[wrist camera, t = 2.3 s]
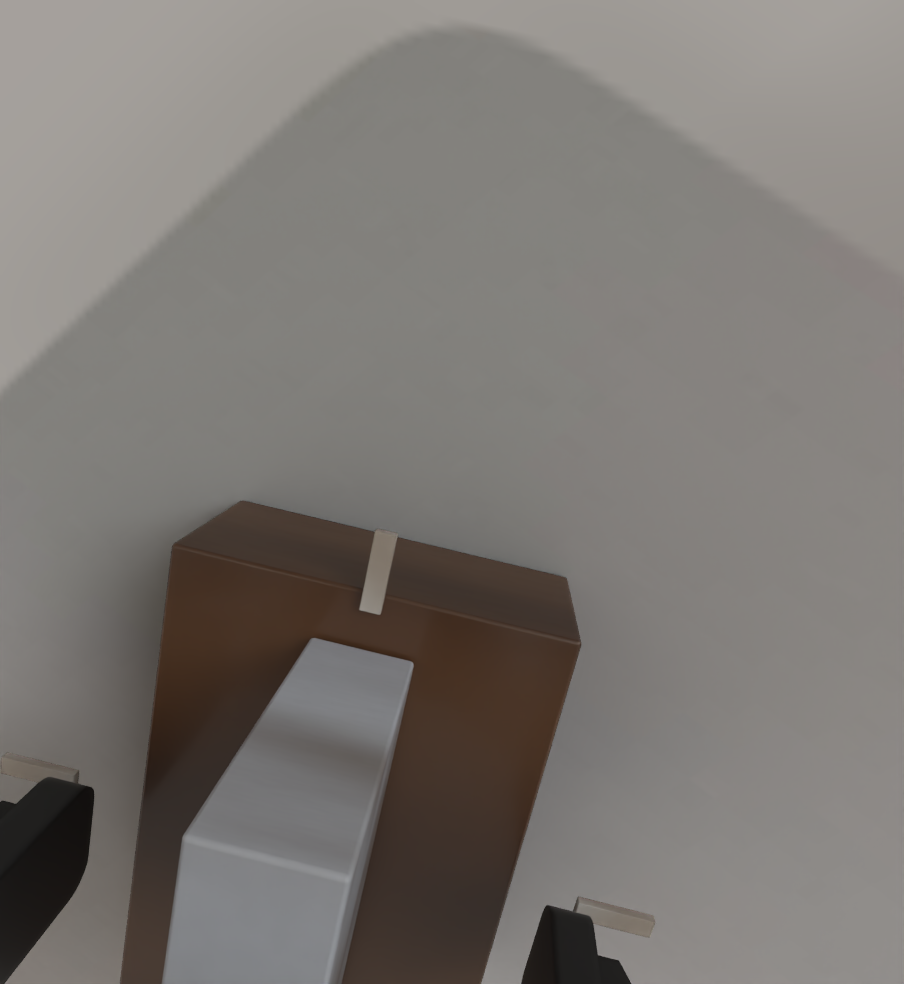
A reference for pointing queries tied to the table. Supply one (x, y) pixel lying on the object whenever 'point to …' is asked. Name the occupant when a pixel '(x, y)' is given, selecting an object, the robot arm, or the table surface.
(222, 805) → the light grey narrow block
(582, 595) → the table surface
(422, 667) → the tap base
